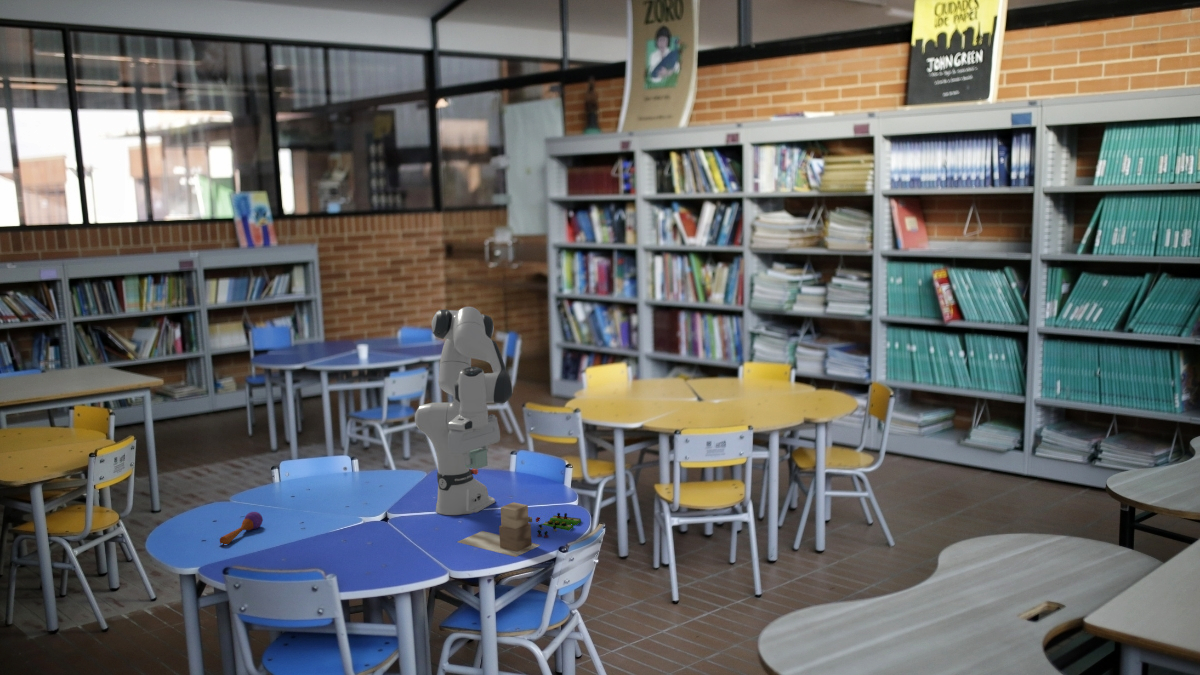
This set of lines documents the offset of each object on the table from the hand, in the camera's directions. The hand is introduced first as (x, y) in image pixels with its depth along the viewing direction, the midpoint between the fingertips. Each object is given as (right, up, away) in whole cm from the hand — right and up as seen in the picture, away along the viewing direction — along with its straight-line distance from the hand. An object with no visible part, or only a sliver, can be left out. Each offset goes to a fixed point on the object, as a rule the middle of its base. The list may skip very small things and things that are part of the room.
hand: (476, 461), depth 310 cm
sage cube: (0, -1, 0) cm, 1 cm away
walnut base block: (+13, -26, -3) cm, 29 cm away
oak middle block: (+13, -19, -4) cm, 23 cm away
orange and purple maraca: (-82, -28, +20) cm, 89 cm away
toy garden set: (+20, -26, +16) cm, 36 cm away
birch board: (+7, -27, 0) cm, 28 cm away
